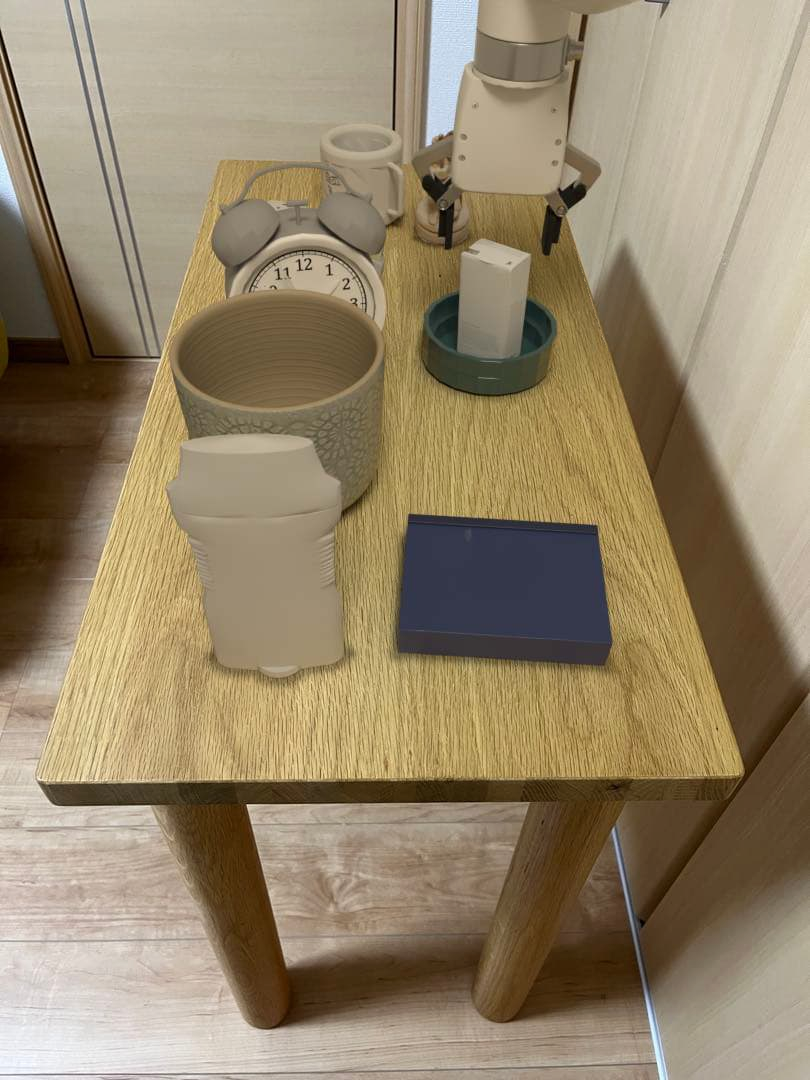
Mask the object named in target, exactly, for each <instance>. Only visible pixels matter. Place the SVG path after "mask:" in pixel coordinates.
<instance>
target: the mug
mask: <svg viewBox="0 0 810 1080" xmlns="http://www.w3.org/2000/svg"><path fill="white" fill-rule="evenodd" d="M403 145H404V143H403V139H402V138H401V135H400V134H399V133H398V132H396V131H395V130H393V129H391V128H389V127H387V126H384V125H379V124H373V123H348V124H342V125H338V126H335V127H332V128H330V129H328V130H326V131H325V132H324V133H323V134H322V135H321V138H320V139H319V156H320V164H324V165H328V166H331V167H333V168H335V169H336V170H337V171H338V172H339V173H340V174H341V175H343V177H344V179H345V181H346V182H347V184H348V185H349V186H350V187H351V188H352V189H353V190H355V191H357V192H358V193H360V194H362V195H364V196H365V195H366V194H368V193H372V195H373V196H372V198H373V199H372V201H371V202H370V203H371V204H372V205H373V206H374V207H375V208H376V209H377V210H378V212H379V213H380V215H381V217H382V218H383V221H384V223H385V226H388V225H391V224H392V223H394V222H395V221H396V220H397V219H398V218H400V217H402V216H403V215H404V214H405V213H404V212H405V172H404V171H403V170H402V161H403V152H404V151H403V149H404V147H403ZM320 170H321V189H322V200H323V199H324V198H325V197H327V196H328V195H330V194H333V193H339V192H348V193H350V192H349V191H348V190H347V189H346V188H345V186H344V185H343V183H342V182H341V180H340V179H339V178H338V177H336V176H335V175H334V174H333V173H332V172H330V171H326V170H323V169H320Z"/></svg>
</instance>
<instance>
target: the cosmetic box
mask: <svg viewBox="0 0 810 1080" xmlns="http://www.w3.org/2000/svg"><path fill="white" fill-rule="evenodd" d="M531 261H532V254H531V253H529V252H525V251H522V250H520V249H516V248H515V247H514V248H513V247H511V246H508V245H505V244H502V243H499V242H496V241H493V240H489V239H487V238H484V237H481V238H479V239H478V240H477V241H475V242H474V243H473V244H472V245H470V246H469V247H468V248H465V250H464V251H462V252H461V253H460V268H459V269H460V272H459V290H460V292H459V314H458V338H457V351H458V352H460V353H463V354H467V355H471V356H475V357H479V358H494V359H504V358H511V357H518V356H519V355H520V351H521V341H522V333H523V324H524V315H525V307H526V298H527V296H528V288H529V279H530V269H531V263H532V262H531Z"/></svg>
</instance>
